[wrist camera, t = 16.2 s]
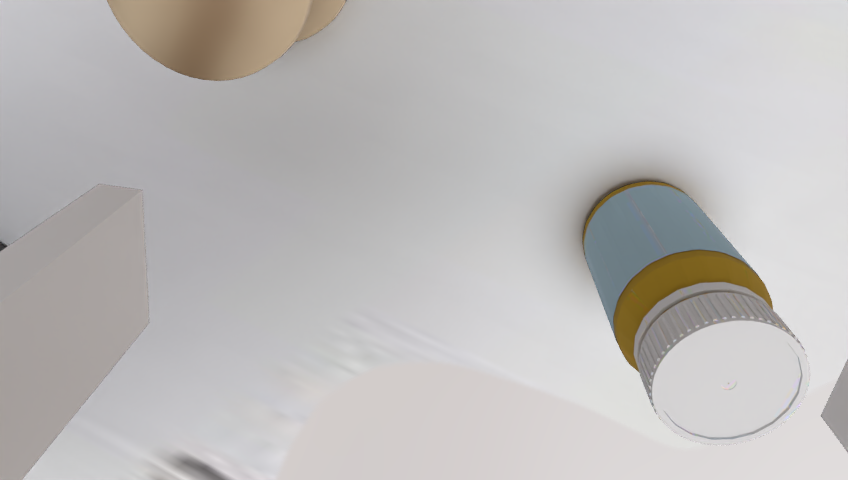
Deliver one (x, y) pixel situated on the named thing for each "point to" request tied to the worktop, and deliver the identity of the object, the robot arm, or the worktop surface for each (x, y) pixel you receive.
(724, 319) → the bottle
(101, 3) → the worktop surface
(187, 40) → the bobbin
